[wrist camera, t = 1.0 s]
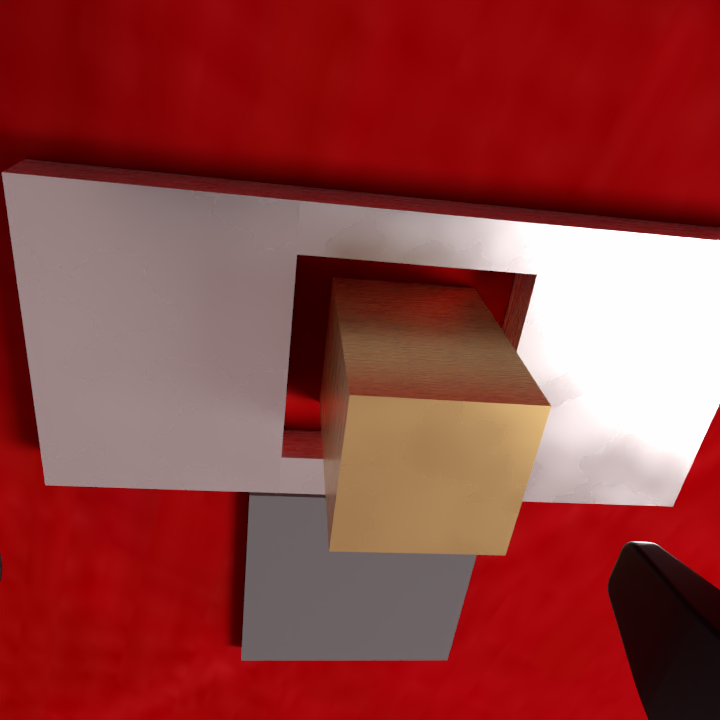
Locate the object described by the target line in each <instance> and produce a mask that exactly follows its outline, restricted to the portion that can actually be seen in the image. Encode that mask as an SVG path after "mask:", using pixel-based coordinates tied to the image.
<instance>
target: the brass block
mask: <svg viewBox="0 0 720 720" xmlns="http://www.w3.org/2000/svg"><path fill="white" fill-rule="evenodd" d="M319 404H320V419H321V435H322V450H323V466H324V481H325V497H326V512H327V528H328V543H329V551H330V552H377V553H423V554H469V555H506V552H507V549H508V545H509V542H510V539H511V536H512V532H513V529H514V526H515V523H516V519H517V516H518V513H519V510H520V506H521V503H522V500H523V497H524V493H525V490H526V487H527V484H528V480H529V477H530V474H531V471H532V467H533V464H534V461H535V458H536V454H537V451H538V448H539V445H540V441H541V438H542V435H543V432H544V428H545V425H546V422H547V419H548V415H549V412H550V409H551V405H550V403H549V402H548V400H547V399H546V397H545V396H544V394H543V392H542V391H541V389H540V388H539V386H538V385H537V383H536V382H535V380H534V378H533V377H532V375H531V374H530V372H529V371H528V369H527V368H526V366H525V365H524V363H523V361H522V360H521V358H520V357H519V355H518V354H517V352H516V351H515V349H514V347H513V346H512V344H511V343H510V341H509V340H508V338H507V337H506V335H505V334H504V332H503V330H502V329H501V327H500V326H499V324H498V323H497V321H496V320H495V318H494V316H493V315H492V313H491V312H490V310H489V309H488V307H487V306H486V304H485V303H484V301H483V299H482V298H481V296H480V295H479V293H478V292H477V290H476V289H475V288H468V287H455V286H443V285H430V284H418V283H405V282H393V281H381V280H368V279H356V278H343V277H333V278H332V287H331V297H330V306H329V315H328V325H327V334H326V344H325V353H324V363H323V372H322V381H321V391H320V400H319Z"/></svg>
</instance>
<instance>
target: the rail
mask: <svg viewBox="0 0 720 720" xmlns="http://www.w3.org/2000/svg"><path fill="white" fill-rule="evenodd" d="M2 178H3V186H4V193H5V200H6V207H7V214H8V221H9V228H10V236H11V243H12V250H13V257H14V264H15V271H16V278H17V286H18V293H19V300H20V307H21V314H22V321H23V328H24V336H25V343H26V350H27V357H28V364H29V371H30V379H31V386H32V393H33V400H34V407H35V414H36V421H37V429H38V436H39V443H40V450H41V457H42V464H43V471H44V479H45V485H56V486H86V487H116V488H145V489H175V490H204V491H234V492H263V493H293V494H323V495H325V481H324V466H323V450H322V435H321V431H303V430H284V417H285V404H286V391H287V378H288V365H289V352H290V339H291V326H292V313H293V300H294V287H295V274H296V261H297V255H309V256H321V257H333V258H345V259H357V260H369V261H380V262H392V263H404V264H416V265H428V266H440V267H452V268H463V269H475V270H487V271H499V272H511V273H516V275H515V279H514V283H513V287H512V291H511V295H510V299H509V303H508V307H507V311H506V315H505V319H504V324H503V328H502V330H503V332H504V334H505V335H506V337H507V338H508V340H509V341H510V343H511V344H512V346H513V347H514V349H515V351H516V352H517V354H518V355H519V357H520V358H521V360H522V361H523V363H524V365H525V366H526V368H527V369H528V371H529V372H530V374H531V375H532V377H533V378H534V380H535V382H536V383H537V385H538V386H539V388H540V389H541V391H542V392H543V394H544V396H545V397H546V399H547V400H548V402H549V403H550V405H551V409H550V412H549V415H548V419H547V422H546V425H545V428H544V432H543V435H542V438H541V441H540V445H539V448H538V451H537V454H536V458H535V461H534V464H533V467H532V471H531V474H530V477H529V480H528V484H527V487H526V490H525V493H524V497H523V500H522V501H529V502H559V503H589V504H618V505H648V506H673V505H674V503H675V500H676V498H677V496H678V494H679V492H680V489H681V487H682V485H683V483H684V481H685V478H686V476H687V474H688V472H689V469H690V467H691V465H692V463H693V461H694V458H695V456H696V454H697V452H698V449H699V447H700V445H701V443H702V441H703V438H704V436H705V434H706V432H707V430H708V427H709V425H710V423H711V421H712V418H713V416H714V414H715V412H716V410H717V407H718V405H719V403H720V228H718V227H708V226H698V225H688V224H678V223H667V222H657V221H647V220H637V219H627V218H617V217H607V216H597V215H586V214H576V213H566V212H556V211H546V210H536V209H526V208H516V207H505V206H495V205H485V204H475V203H465V202H455V201H445V200H435V199H424V198H414V197H404V196H394V195H384V194H374V193H364V192H353V191H343V190H333V189H323V188H313V187H303V186H293V185H283V184H272V183H262V182H252V181H242V180H232V179H222V178H212V177H202V176H191V175H181V174H171V173H161V172H151V171H141V170H131V169H121V168H110V167H100V166H90V165H80V164H70V163H60V162H50V161H40V160H29V159H24V160H22V161H21V162H19V163H17V164H15V165H14V166H12V167H10V168H8V169H6V170H5V171H3V172H2Z"/></svg>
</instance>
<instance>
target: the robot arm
mask: <svg viewBox="0 0 720 720" xmlns="http://www.w3.org/2000/svg"><path fill="white" fill-rule="evenodd" d="M1 576H2V560H1V555H0V581H1ZM608 593H609V598H610V601H611V605H612V608H613V611H614V615H615V618H616V621H617V625H618V628H619V632H620V635H621V638H622V642H623V645H624V648H625V652H626V655H627V659H628V662H629V665H630V669H631V672H632V675H633V679H634V682H635V685H636V688H637V691H638V694H639V696H640V699H641V702H642V704H643V707H644V710H645V712H646V715H647V717H648V719H649V720H720V590H719V589H718V588H716V587H715V586H714V585H712V584H711V583H709V582H708V581H707V580H705V579H704V578H703V577H701V576H700V575H698V574H697V573H696V572H694V571H693V570H692V569H690V568H689V567H687V566H686V565H685V564H683V563H682V562H681V561H679V560H678V559H676V558H675V557H674V556H672V555H671V554H670V553H668V552H667V551H665V550H664V549H663V548H661V547H660V546H658V545H657V544H655V543H651V542H628V543H626V544H625V545H624V546H623V548H622V550H621V552H620V555H619V557H618V559H617V562H616V564H615V566H614V568H613V571H612V573H611V575H610V578H609V582H608Z"/></svg>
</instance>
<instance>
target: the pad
mask: <svg viewBox="0 0 720 720" xmlns="http://www.w3.org/2000/svg"><path fill="white" fill-rule="evenodd" d="M475 559H476V555H469V554H423V553H377V552H330V551H329V543H328V528H327V512H326V497H325V495H323V494H293V493H263V492H250V495H249V514H248V534H247V554H246V574H245V594H244V614H243V634H242V654H241V660H447V659H448V656H449V652H450V649H451V645H452V642H453V638H454V634H455V631H456V627H457V624H458V620H459V616H460V613H461V609H462V606H463V602H464V598H465V595H466V591H467V588H468V584H469V580H470V577H471V573H472V570H473V566H474V563H475Z"/></svg>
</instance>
